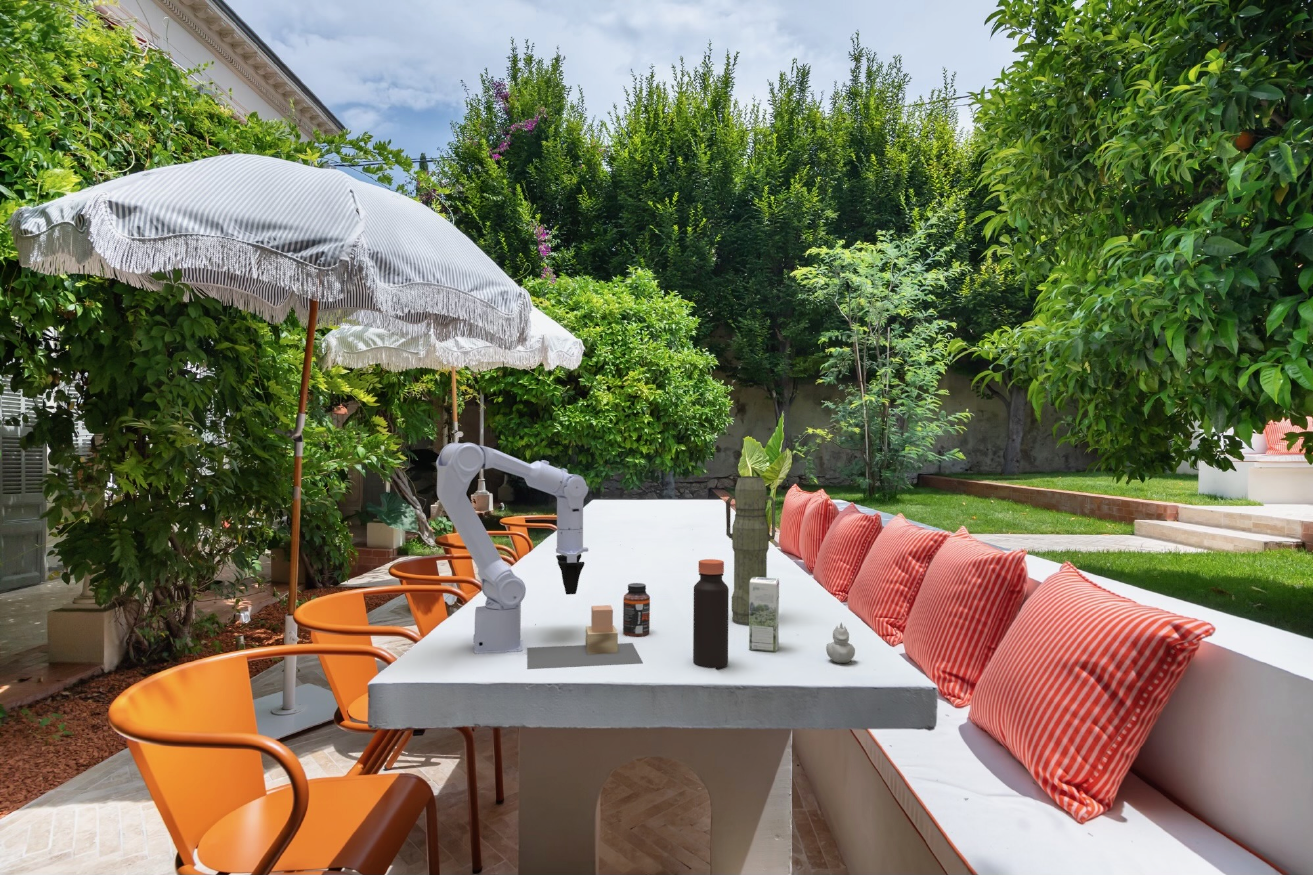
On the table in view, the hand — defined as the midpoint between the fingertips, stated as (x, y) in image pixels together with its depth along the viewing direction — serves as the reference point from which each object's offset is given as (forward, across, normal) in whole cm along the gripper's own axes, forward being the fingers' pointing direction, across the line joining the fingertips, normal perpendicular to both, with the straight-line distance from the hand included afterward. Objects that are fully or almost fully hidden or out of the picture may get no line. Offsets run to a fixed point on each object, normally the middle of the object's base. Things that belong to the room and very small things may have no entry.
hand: (569, 590), depth 155 cm
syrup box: (+11, -14, -40) cm, 44 cm away
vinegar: (+11, -23, -26) cm, 36 cm away
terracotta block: (+6, -11, -6) cm, 14 cm away
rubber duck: (+11, -25, -52) cm, 59 cm away
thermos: (+11, +8, -44) cm, 46 cm away
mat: (+10, -15, -2) cm, 18 cm away
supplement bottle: (+11, 0, -15) cm, 18 cm away
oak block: (+10, -11, -6) cm, 16 cm away
